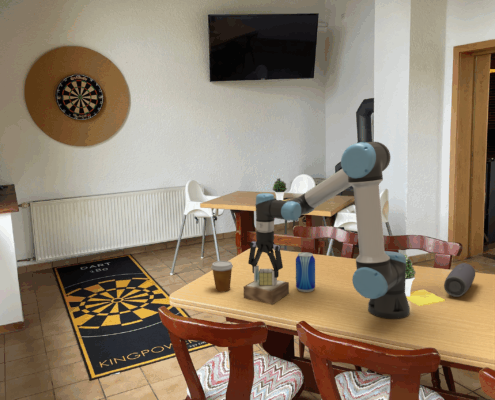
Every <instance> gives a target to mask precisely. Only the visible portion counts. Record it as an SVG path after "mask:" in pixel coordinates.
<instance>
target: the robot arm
mask: <svg viewBox="0 0 495 400" xmlns="http://www.w3.org/2000/svg"><path fill="white" fill-rule="evenodd" d="M390 163H391V153H390V150H389V148H388V147H387V145H385V144H383V143H382V142H379V141H367V142H366V141H364V142H363V141H360V142H355V143H353V144H351V145H349V146H348V147H346V148H345V150H344V151H343V153H342V155H341V159H340V166H341V169H339V170H338V171H336V172H335V173H333V174H332V175H330V176H329V177H328V178H325V179H324V180H322V181H321V182H320V183H318V184H316V185H315V186H314V187H312V188H310V189H309V190H307V191H306V192H304V193H302V194H300V196H298V197H294V198H290V199H287V200H285V199H284V200H283V199H282V200H280V199H275V195H274V194H273V193H269V192H268V193H258V194H256V196H255V230H256V231H255V239H256V241H251V242H250V243H249V246H250V249H249V256H248V262H247V263H248V265H251V266H252V271H251V272H252V274H253V281H254V282H256V281H258V280H259V270H260V265H259V264H258V263H259V261H260V258H261V257H262V254H263V253H265V254H267V256H268V257H269V261H270V263H271V266H272V269H273V270H272V285H273V286H274V285H276V284H277V280H278V278H279V275H280V274H279V270H281V269H283V268H284V265H283V260H282V254H281V247H282V245H280V244H278V245H277V244H275V241H274V240H275V219H279V220H285V221H294V222H295V221H297V220H299V218H300V217H301V216H303V215H308V214H310V213H311V212H313V211H314V210H315V209H316V208H317V207H319V206H320V205H322V204H324V203H325V202H328V201H329V200H331V199H332V198H334V197H336V196H337V195H339V194H340V193H341V192H344V191H345V190H347V189H348V188H350V187H352V188H353V197H354V198H353V199H354V207H355V209H354V210H355V219H356V229H357V239H358V240H357V241H358V249H359V250H358V251H359V253H358V256H357V257H356V258H355V267H356V270H355V271H354V273H353V275H352V279H351V280H352V285H353V287H354V289H355V291H356V292H357V293H358V294H359V295H361V296H362V297H363V298H366V299H369V300H368V303H367V311H368V312H369V313H370V314H372V315H373V316H376V317H379V318H383V319H390V320H392V319H393V320H394V319H396V320H397V319H403V318H407V317H408V316H409V315H410V305H409V301H408V298H407V295H406V275H407V273H406V272H407V258H406V255H405V254H403V253H401V252H397V251H388V250H385V241H384V231H383V230H384V228H383V220H382V219H383V217H382V208H381V207H382V206H381V195H380V194H381V193H380V184H381V183H382V182H383V179H384V178H383V171H385V170H386V169H387V168H388V167H389V166H390Z"/></svg>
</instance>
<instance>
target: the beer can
mask: <svg viewBox="0 0 495 400" xmlns="http://www.w3.org/2000/svg"><path fill="white" fill-rule="evenodd" d="M295 287H296V288H297V290H298V292H301V293H311V292H313V291H314V290H315V288H316V258H315V257H314V254H313V253H312V252H307V251H306V252H305V251H303V252H299V253H297V256H296V258H295Z"/></svg>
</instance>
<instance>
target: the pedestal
mask: <svg viewBox="0 0 495 400" xmlns="http://www.w3.org/2000/svg"><path fill="white" fill-rule="evenodd" d="M289 294H290V282H289V281H284V280H283V281H282V280H278V279H277V284H276V285H274V286H273V285H272V286H261V285H259V280H258V281H256V282H254V280H253V281H251V282H250V283H248V284H246V285H244V286H243V299H247V300H252V301H255V302H256V301H257V302H260V303H265V304H270V305H274V304H275V303H277V302H278V301H280V300H281V299H283V298H284V297H286V296H288V295H289Z"/></svg>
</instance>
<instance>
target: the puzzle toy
mask: <svg viewBox="0 0 495 400" xmlns="http://www.w3.org/2000/svg"><path fill="white" fill-rule="evenodd" d="M272 270H274V269H273V268H259V285H261V286H272Z"/></svg>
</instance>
